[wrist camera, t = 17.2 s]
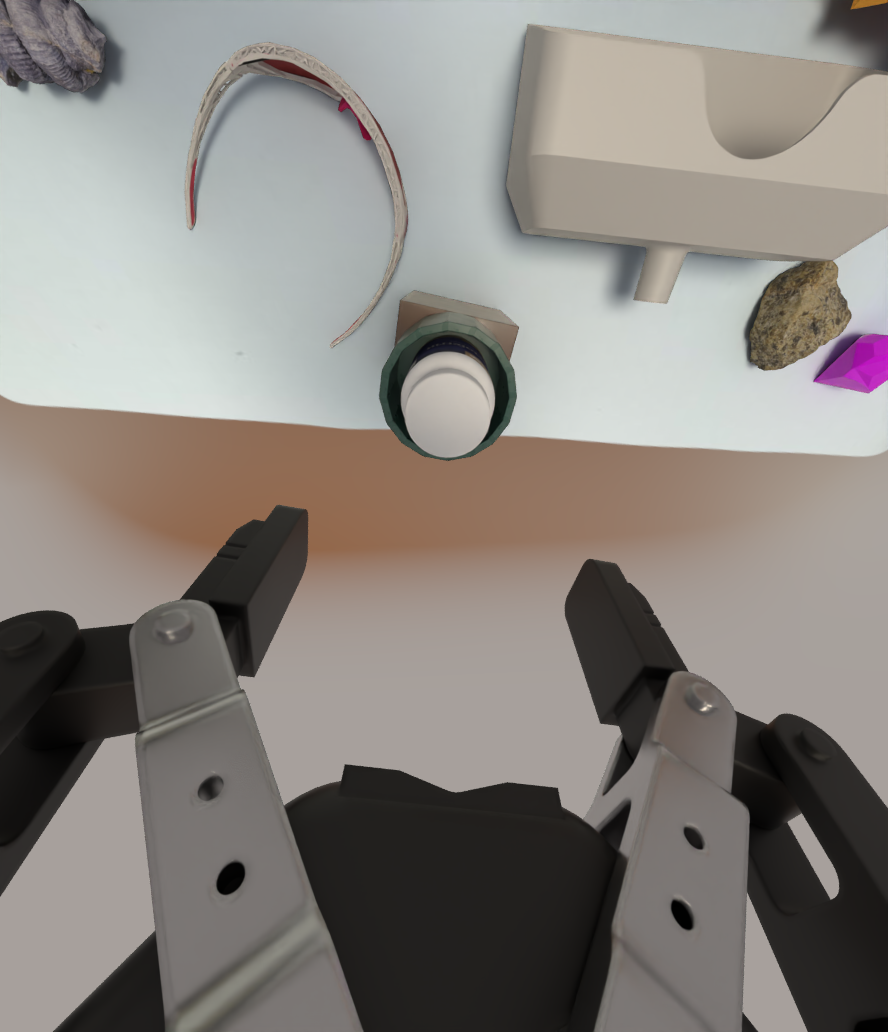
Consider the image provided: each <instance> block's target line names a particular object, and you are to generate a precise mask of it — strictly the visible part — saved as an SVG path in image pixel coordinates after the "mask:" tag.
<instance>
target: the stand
mask: <svg viewBox="0 0 888 1032" xmlns="http://www.w3.org/2000/svg"><path fill="white" fill-rule="evenodd" d="M444 312H453V313H460V314H464V315H467V316H470V317H472V318H475V319H476V320H477V321H479V322H480V323H482V324H483V325H484V326H485V327H486V328H488V329H489V330H490V331H491V332H492V333H493V334H494V336H495V337H496V339H497V341H498V342H499V344H500V345H501V347H502V349H503V351H504V353H505V354H506V356H507V358H508V360H509V361H510V358H511V354H512V350H513V347H514V343H515V340H516V336H517V332H518V329H519V327H518V326H517V325H516V324H515V323H514V322H513V321H512V320H511V319H510V318H508V317H507V316H506V315H505V314H504V313H503V312H502V311H501V310H497V309H493V308H488V307H484V306H480V305H475V304H471V303H467V302H462V301H458V300H454V299H449V298H445V297H441V296H436V295H432V294H428V293H423V292H419V291H415V290H414V291H412V292H411V293H410V294H408V295H407V296H405V297H404V298H403V299H401V300H400V306H399V314H398V322H397V330H396V338H395V346H396V344H397V343H398V341H399V340H400V338H401V337H402V335H403V334H404V332H405V331H407V330H408V329H409V328H411V327H412V326H413V325H414V324H415V323H417V322H418V321H420V320H421V319H422V318H424V317H426V316H430V315H433V314H437V313H444ZM394 348H395V347H394Z"/></svg>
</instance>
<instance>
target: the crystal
mask: <svg viewBox="0 0 888 1032" xmlns="http://www.w3.org/2000/svg"><path fill="white" fill-rule="evenodd" d="M887 380H888V336H887V335H878V334H864V335H863V336H861V337H860V338H859V339H858V340H856V341H855V342H854V343H853V344H852V345H851V346H850V347H849V348H848V349H847V350H846V351H845V352H844V353H843V354H842V355H841V356H840V357H839V358H837V359H836V360H835V361H834V362H833V363H832V364H831V365H830V366H829V367H828V368H827V369H826V370H825V371H824V372H823V373H822V374H821V375H820V376H819V377H818V378H817V379H815V380H814V381H813V382H818V383H822V384H827V385H832V386H836V387H841V388H846V389H850V390H855V391H860V392H864V393H870V392H871V391H873V390H874V389H876V388H877V387H878V386H880V385H881V384H883V383H884V382H885V381H887Z"/></svg>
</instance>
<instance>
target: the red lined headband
mask: <svg viewBox="0 0 888 1032" xmlns="http://www.w3.org/2000/svg"><path fill="white" fill-rule="evenodd" d="M247 73H254V74H260V75H268V76H277V77H283V78H286V79H290V80H293V81H297V82H300V83H303V84H306V85H308V86H310V87H313V88H315V89H317V90H319V91H322V92H324V93H325V94H327V95H328V96H330V97H332V98H333V99H335V100H336V101H340V104H339V108H338V110H339V111H340V112H342V111H343V110H345V109H346V108H348V109H350V110H351V111H352V113H353V114H354V115H355V117H356V118H357V121H358V124H359V127H360V130H361V133H362V135H363V138H364V139H365V140H371V139H373V141H374V143H375V145H376V147H377V150H378V152H379V155H380V157H381V159H382V162H383V165H384V168H385V172H386V175H387V178H388V182H389V185H390V188H391V191H392V196H393V202H394V211H395V225H396V226H395V234H394V236H395V238H394V241H393V248H392V254H391V260H390V262H389V265H388V268H387V271H386V273H385V276H384V279H383V281H382V283H381V285H380V288H379V290H378V292H377V293H376V295H375V297H374V298H373V300H372V302H371V303H370V305H369V306H368V308H367V309H366V310H365V312H364V313H363V314H362V315H361V316H360V317H359V319H358V320H357V321H356V322H355V323H354V324H353V325H352V326H351V327H350V328H349V329H348V330H347V331H346V332H345V333H344V334H343V335H341V336H340V337H338V338H337V339H336V340H334V341H333V342H332V343H331V344H330V348H333V347H334V346H335V345H336V344H338V343H339V342H340V341H342V340H343V339H345V338H346V337H347V336H349V335H350V334H351V333H352V332H353V331H354V330H355V329H356V328H357V327H358V326H359V325H360V324H361V323H362V322H363V321H364V320H365V319H366V317H367V316H368V315H369V313H370V312H371V311H372V309H373V308H374V307H375V305H376V304H377V302H378V301H379V299H380V297H381V296H382V294H383V292H384V291H385V289H386V287H387V286H388V284H389V282H390V280H391V278H392V275H393V273H394V270H395V268H396V266H397V263H398V261H399V258H400V256H401V252H402V248H403V243H404V238H405V235H406V232H407V225H408V210H407V202H406V196H405V191H404V187H403V183H402V179H401V175H400V171H399V168H398V166H397V163H396V160H395V157H394V154H393V151H392V149H391V147H390V145H389V143H388V141H387V139H386V137H385V135H384V133H383V131H382V129H381V127H380V125H379V123H378V122H377V121H376V119H375V118H374V116H373V115H372V114H371V112H370V111H369V109H368V108H367V107H366V105H365V104H364V102H363V101H362V100H361V98H360V97H359V96H358V95H357V94H356V93H355V92H354V91H353V90H352V89H351V88H350V86H349V85H348V84H347V83H346V82H345V81H344V80H343V79H342V78H341V77H340V76H339V75H337V74H336V73H335V72H334V71H332V70H331V69H329V68H328V67H327V66H325V65H324V64H323V63H321V62H320V61H319V60H317V59H316V58H314V57H313V56H311V55H308V54H306V53H304V52H302V51H299V50H298V49H295V48H291V47H288V46H283V45H278V44H274V43H270V42H268V43H259V44H254V45H249V46H246V47H244V48H242V49H240V50H238V51H237V52H235V53H234V54H233V55H232V56H231V58H230V59H229V60H228V61H227V62H224V63H223V64H222V65H221V66H220V68H219V69H218V71H217V72H216V74H215V76H214V77H213V79H212V81H211V83H210V85H209V86H208V88H207V90H206V92H205V94H204V96H203V98H202V101H201V105H200V108H199V111H198V115H197V118H196V120H195V125H194V130H193V135H192V140H191V145H190V150H189V154H188V161H187V169H186V180H185V202H186V216H187V228H189V229H190V230H191V229H192V227H193V226H194V225H195V209H194V199H193V196H194V179H195V169H196V164H197V159H198V154H199V148H200V143H201V140H202V138H203V135H204V133H205V130H206V128H207V125H208V123H209V120H210V118H211V116H212V114H213V112H214V109H215V107H216V105H217V104H218V102H219V100H220V99H221V98H222V96H223V95H224V93H225V92H226V91H227V89H228V88H229V87H230V86H231V85H232V84H233V83H235V82H236V81H237V80H238V79H240V78H241V77H242V74H247ZM229 80H231V81H230V82H229V83H228V84H227V83H226V82H227V81H229ZM223 85H226V86H225V87H224V89H223V90H222V91H220V89H221V88H222V87H223ZM218 92H219V93H220V94H219V93H218Z"/></svg>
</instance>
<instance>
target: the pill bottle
mask: <svg viewBox="0 0 888 1032" xmlns="http://www.w3.org/2000/svg"><path fill="white" fill-rule="evenodd" d="M494 406H495V392H494V387H493V383H492V380H491V377H490V374H489V371H488V369H487V366H486V363H485V360H484V358H483V356H482V354H481V353H480V351H479V350H478V349H477V348H476V347H475V346H474V345H473V344H472V343H471V342H469V341H468V340H466V339H464V338H461V337H458V336H450V335H447V336H440V337H437V338H434V339H432V340H430V341H429V342H427V343H426V344H425V345H424V346H423V347H422V348H421V349H420V350H419V351H418V353H417V354H416V356H415V358H414V360H413V362H412V364H411V367H410V369H409V371H408V374H407V376H406V378H405V380H404V383H403V387H402V392H401V407H402V412H403V415H404V418H405V423H406V427H407V430H408V432H409V435H410V436H411V438H412V440H413V441H414V442H415V443H416V444H417V445H418V446H419V447H420V448H421V449H422V450H424V451H425V452H427V453H429V454H431V455H434V456H438V457H444V458H451V457H458V456H461V455H464V454H466V453H468V452H470V451H472V450H473V449H474V448H476V447H477V446H478V445H479V444H480V443H481V441H482V440H483V439H484V437H485V435H486V433H487V431H488V429H489V425H490V420H491V417H492V415H493V411H494Z"/></svg>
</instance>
